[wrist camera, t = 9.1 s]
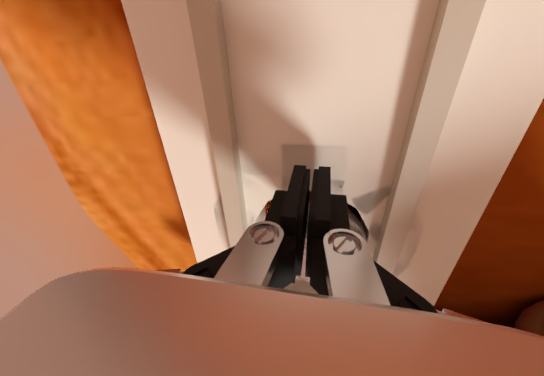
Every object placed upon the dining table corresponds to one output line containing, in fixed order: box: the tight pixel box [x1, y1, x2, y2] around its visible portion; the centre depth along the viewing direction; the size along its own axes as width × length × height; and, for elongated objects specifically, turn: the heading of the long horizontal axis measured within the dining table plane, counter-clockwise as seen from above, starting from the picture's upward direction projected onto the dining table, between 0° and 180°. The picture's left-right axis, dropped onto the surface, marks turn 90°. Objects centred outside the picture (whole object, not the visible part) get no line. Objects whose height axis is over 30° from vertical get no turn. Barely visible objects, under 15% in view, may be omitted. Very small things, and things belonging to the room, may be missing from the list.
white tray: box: [121, 0, 544, 306], centre depth 12 cm, size 24×16×4 cm, turn 2°
